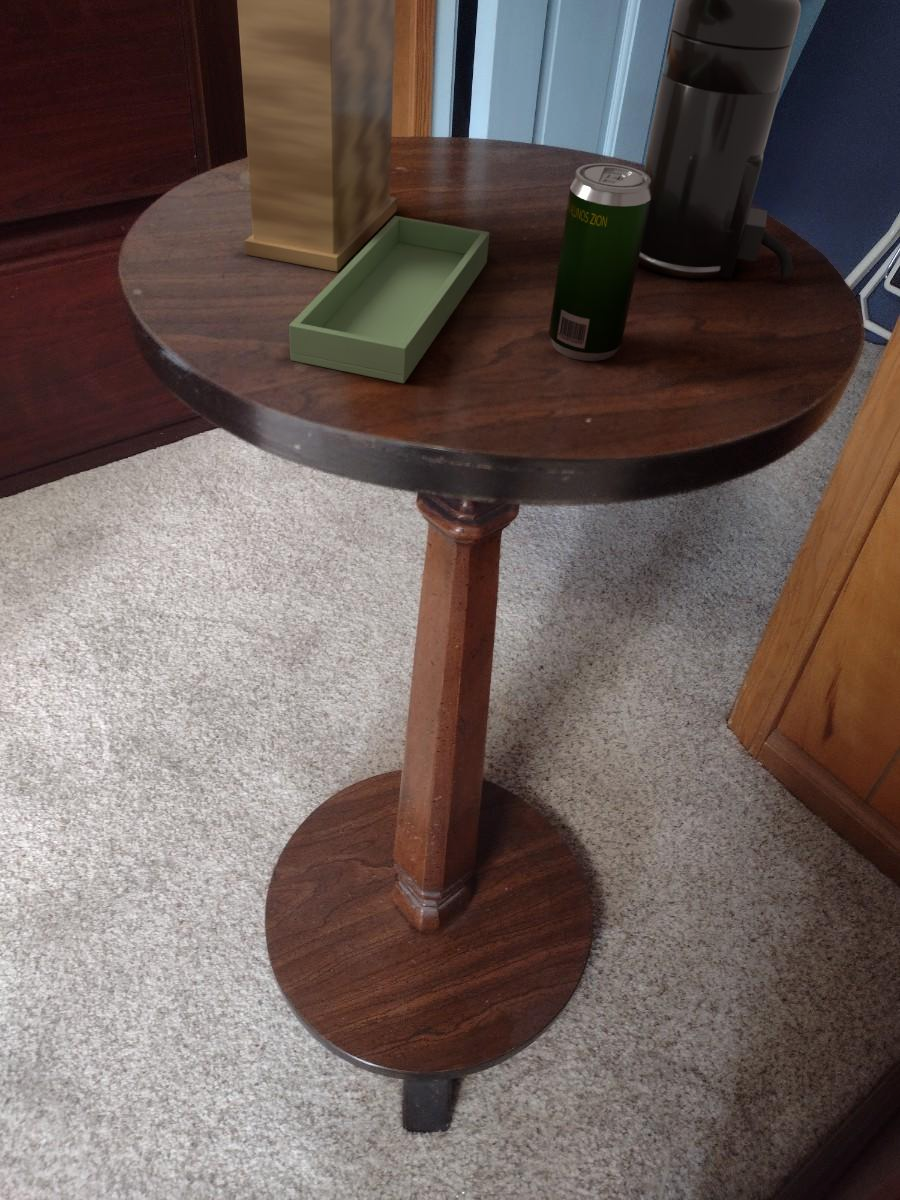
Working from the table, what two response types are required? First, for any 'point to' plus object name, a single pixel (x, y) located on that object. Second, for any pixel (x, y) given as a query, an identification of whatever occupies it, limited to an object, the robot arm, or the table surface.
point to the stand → (317, 125)
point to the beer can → (598, 260)
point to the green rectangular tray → (390, 300)
